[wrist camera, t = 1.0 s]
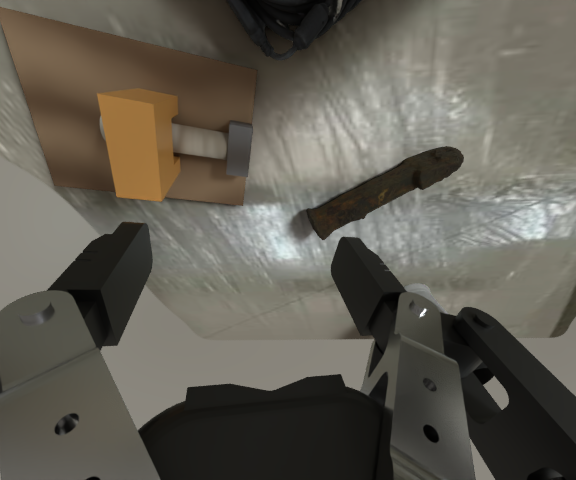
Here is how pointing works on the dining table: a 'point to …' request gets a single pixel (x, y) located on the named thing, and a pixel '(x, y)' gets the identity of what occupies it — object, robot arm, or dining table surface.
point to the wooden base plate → (123, 76)
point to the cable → (289, 20)
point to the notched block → (140, 141)
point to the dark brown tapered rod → (385, 189)
